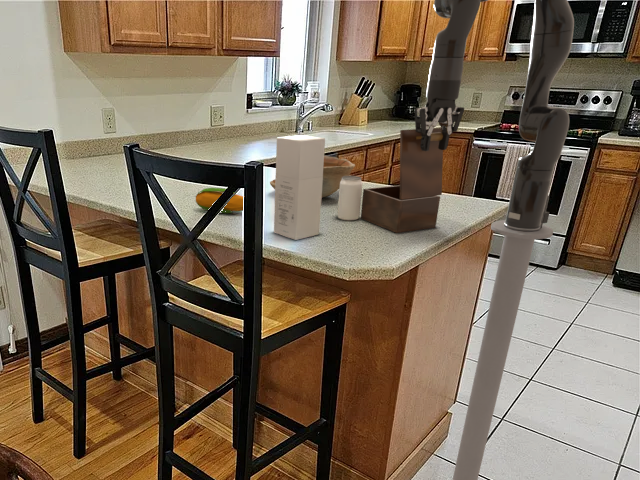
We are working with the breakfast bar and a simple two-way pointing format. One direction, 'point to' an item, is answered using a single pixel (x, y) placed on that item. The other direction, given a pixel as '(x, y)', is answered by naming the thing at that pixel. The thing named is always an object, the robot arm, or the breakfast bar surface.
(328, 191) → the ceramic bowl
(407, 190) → the chest lid
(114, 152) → the breakfast bar surface
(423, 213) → the chest
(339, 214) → the can
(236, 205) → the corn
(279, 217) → the tall white carton
